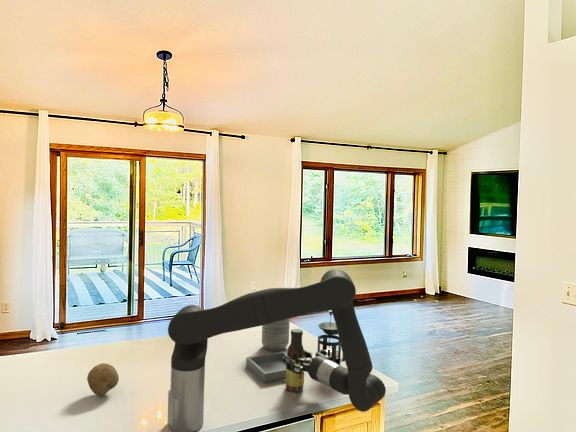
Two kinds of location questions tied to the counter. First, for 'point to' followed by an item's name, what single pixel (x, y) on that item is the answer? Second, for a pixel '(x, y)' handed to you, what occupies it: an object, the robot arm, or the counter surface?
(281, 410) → the counter surface
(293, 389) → the sauce bottle
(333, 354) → the french press
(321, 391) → the counter surface
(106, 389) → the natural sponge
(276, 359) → the tray
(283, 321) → the vase
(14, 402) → the counter surface
